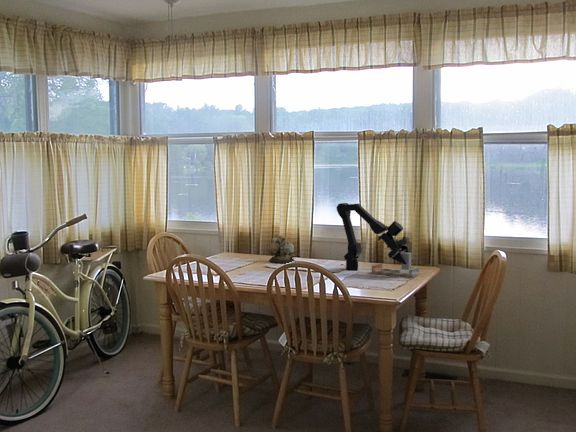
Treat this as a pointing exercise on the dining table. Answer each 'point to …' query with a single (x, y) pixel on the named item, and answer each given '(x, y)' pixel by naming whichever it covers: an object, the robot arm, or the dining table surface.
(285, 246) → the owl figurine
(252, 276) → the dining table surface
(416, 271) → the track
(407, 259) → the carriage
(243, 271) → the dining table surface
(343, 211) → the robot arm
